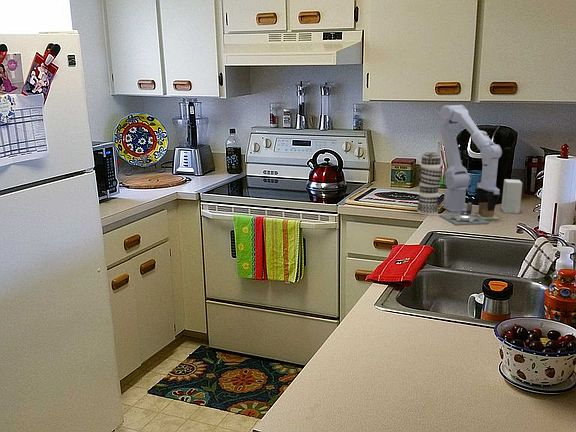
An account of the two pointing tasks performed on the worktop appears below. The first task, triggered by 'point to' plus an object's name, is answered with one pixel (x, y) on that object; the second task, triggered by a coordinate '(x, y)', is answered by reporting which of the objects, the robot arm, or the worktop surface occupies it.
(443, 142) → the robot arm
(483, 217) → the timing pad
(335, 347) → the worktop surface
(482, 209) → the link block
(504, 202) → the small box
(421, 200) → the decorative candle
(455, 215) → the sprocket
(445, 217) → the slate board
